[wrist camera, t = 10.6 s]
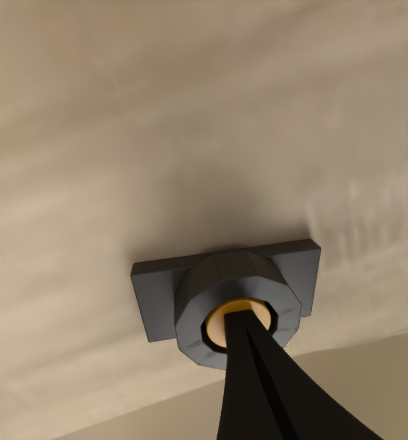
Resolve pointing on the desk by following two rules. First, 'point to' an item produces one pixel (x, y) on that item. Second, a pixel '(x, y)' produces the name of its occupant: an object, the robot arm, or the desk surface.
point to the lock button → (216, 315)
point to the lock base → (225, 293)
